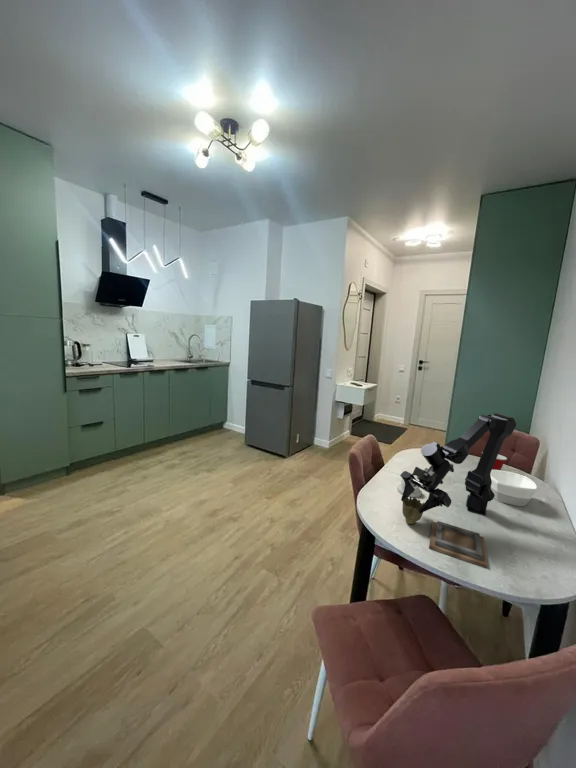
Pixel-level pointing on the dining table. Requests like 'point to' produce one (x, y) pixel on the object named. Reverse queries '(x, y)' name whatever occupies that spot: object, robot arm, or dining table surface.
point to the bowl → (512, 487)
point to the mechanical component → (415, 494)
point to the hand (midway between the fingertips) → (410, 506)
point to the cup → (412, 510)
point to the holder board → (458, 543)
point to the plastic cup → (499, 462)
